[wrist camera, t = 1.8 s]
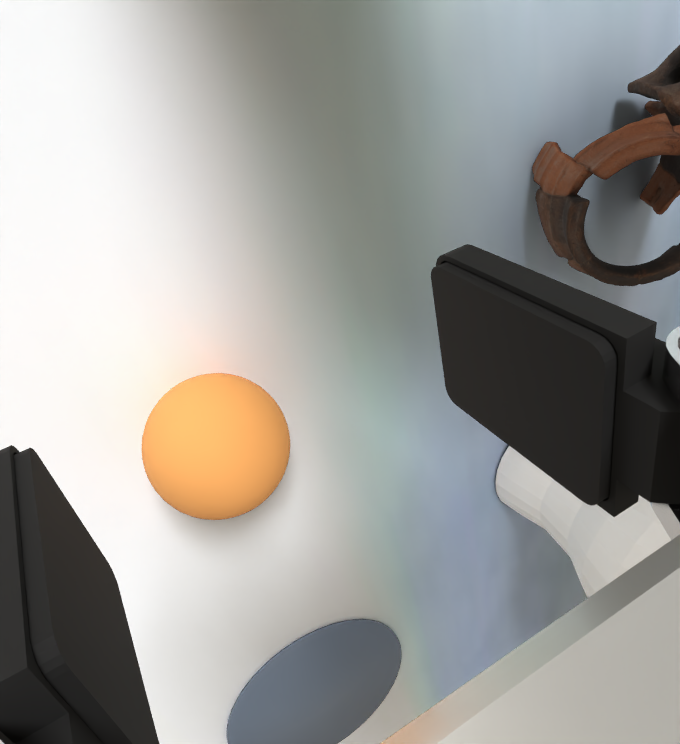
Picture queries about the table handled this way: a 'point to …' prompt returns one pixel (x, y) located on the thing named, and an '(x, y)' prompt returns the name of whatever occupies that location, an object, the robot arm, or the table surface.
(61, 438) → the table surface
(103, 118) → the table surface
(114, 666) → the robot arm
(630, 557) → the cup
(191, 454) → the ball
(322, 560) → the table surface
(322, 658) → the disc
